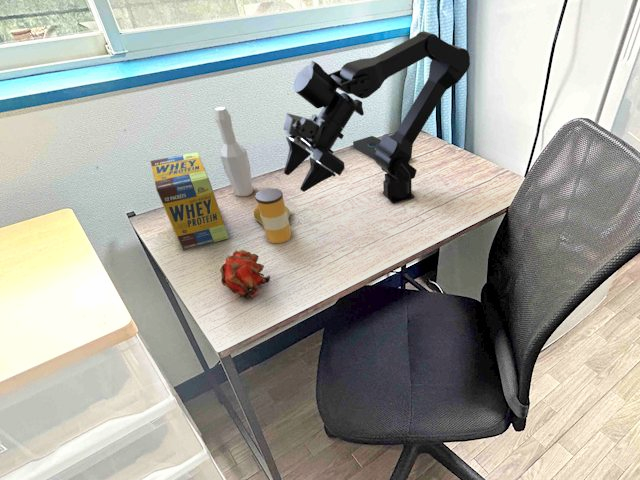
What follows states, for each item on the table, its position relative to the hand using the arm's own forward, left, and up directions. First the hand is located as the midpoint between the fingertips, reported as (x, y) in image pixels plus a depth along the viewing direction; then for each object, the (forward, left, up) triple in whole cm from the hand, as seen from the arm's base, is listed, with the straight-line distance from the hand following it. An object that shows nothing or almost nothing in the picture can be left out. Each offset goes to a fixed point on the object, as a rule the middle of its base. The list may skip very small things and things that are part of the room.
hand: (293, 182), depth 95 cm
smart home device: (-34, -29, -12) cm, 47 cm away
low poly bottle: (+9, -25, -12) cm, 29 cm away
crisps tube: (+6, +1, -12) cm, 14 cm away
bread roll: (+5, -8, -12) cm, 16 cm away
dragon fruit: (+17, +16, -12) cm, 26 cm away
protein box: (+22, -12, -12) cm, 28 cm away
